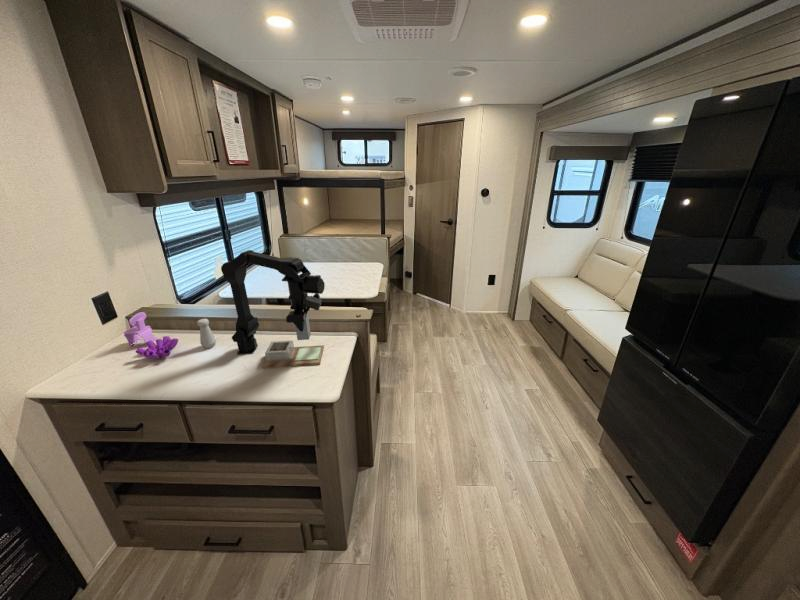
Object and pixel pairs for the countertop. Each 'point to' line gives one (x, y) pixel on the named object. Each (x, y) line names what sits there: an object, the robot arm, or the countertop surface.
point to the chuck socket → (279, 351)
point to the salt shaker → (206, 334)
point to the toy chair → (139, 329)
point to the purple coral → (158, 348)
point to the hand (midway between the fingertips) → (302, 328)
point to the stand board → (300, 357)
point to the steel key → (304, 330)
